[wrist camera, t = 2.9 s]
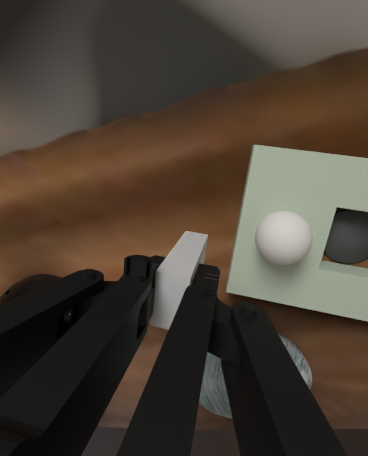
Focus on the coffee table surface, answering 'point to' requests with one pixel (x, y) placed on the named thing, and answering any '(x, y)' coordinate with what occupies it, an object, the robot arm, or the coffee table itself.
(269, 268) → the green board
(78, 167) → the coffee table surface
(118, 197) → the coffee table surface
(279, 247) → the ball
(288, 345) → the grey streaked egg
